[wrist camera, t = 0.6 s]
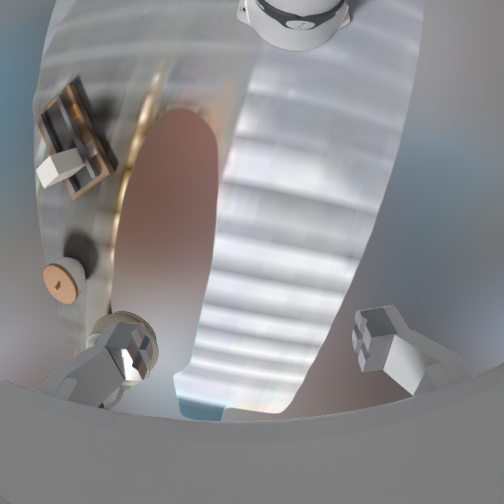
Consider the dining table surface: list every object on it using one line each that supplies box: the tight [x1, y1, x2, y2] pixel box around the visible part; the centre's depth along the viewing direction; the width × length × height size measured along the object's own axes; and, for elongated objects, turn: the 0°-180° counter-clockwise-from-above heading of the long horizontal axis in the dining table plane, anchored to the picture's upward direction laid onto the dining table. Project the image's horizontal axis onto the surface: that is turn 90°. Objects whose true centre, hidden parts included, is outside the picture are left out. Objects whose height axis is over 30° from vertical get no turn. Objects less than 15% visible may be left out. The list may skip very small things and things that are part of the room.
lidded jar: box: [44, 257, 85, 304], centre depth 57 cm, size 11×11×9 cm
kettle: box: [86, 311, 158, 410], centre depth 58 cm, size 25×18×25 cm
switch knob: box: [36, 148, 85, 188], centre depth 42 cm, size 4×5×9 cm
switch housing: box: [36, 84, 115, 201], centre depth 45 cm, size 22×12×4 cm, turn 25°
